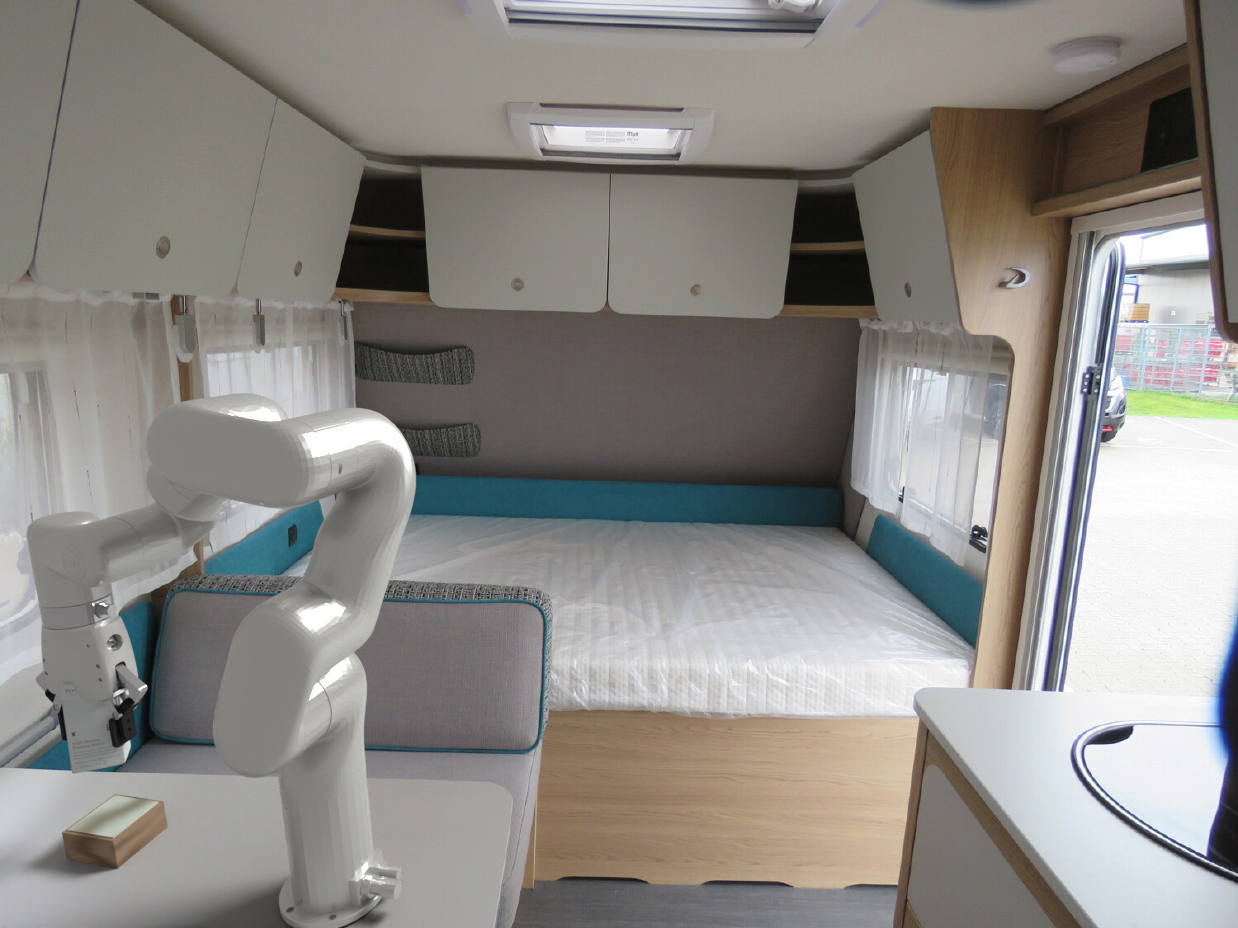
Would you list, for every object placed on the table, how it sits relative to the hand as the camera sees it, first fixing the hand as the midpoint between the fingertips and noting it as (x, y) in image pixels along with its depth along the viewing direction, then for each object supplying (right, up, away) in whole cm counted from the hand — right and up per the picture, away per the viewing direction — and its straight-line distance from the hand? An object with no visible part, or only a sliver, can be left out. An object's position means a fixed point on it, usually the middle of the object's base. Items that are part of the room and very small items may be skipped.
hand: (99, 737), depth 97 cm
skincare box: (0, -3, +1) cm, 3 cm away
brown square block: (0, -15, +3) cm, 16 cm away
